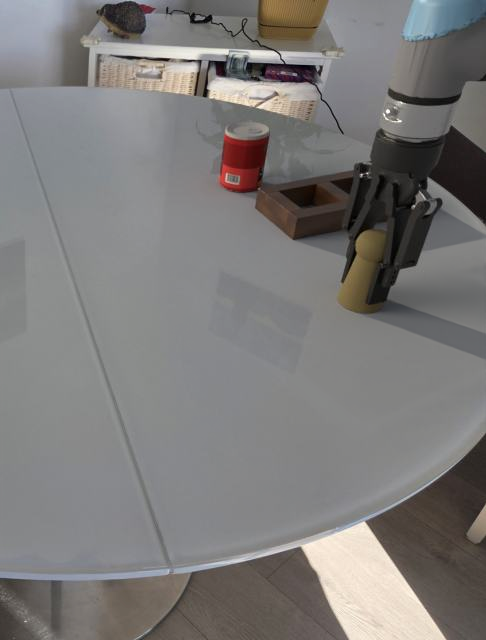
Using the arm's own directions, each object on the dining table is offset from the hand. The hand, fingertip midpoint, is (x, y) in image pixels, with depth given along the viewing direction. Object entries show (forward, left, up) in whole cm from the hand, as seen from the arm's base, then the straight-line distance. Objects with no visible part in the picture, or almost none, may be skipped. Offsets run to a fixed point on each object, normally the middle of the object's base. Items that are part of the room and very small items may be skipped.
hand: (362, 291), depth 91 cm
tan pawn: (0, 0, -2) cm, 2 cm away
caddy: (+25, -12, -2) cm, 28 cm away
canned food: (+41, -3, -2) cm, 41 cm away
